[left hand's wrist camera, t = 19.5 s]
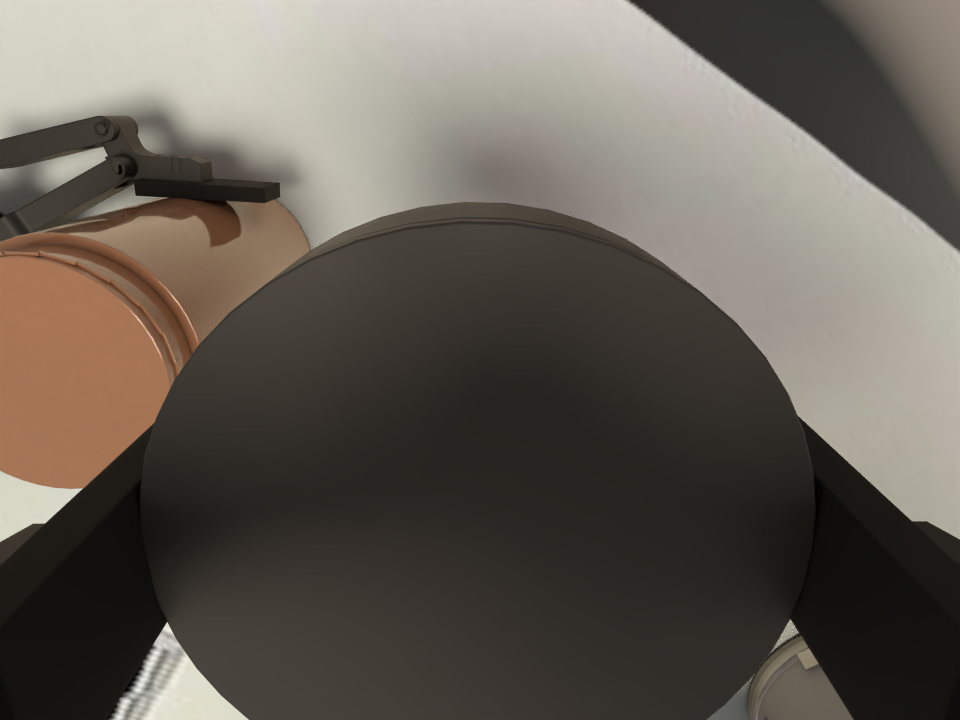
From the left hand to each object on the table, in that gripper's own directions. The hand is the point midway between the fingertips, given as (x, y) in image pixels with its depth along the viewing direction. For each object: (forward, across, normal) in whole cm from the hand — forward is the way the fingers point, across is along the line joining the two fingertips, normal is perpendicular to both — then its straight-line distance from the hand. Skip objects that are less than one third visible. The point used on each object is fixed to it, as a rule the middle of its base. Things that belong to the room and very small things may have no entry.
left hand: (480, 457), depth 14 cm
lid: (-3, 0, 0) cm, 3 cm away
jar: (+29, +16, +2) cm, 33 cm away
